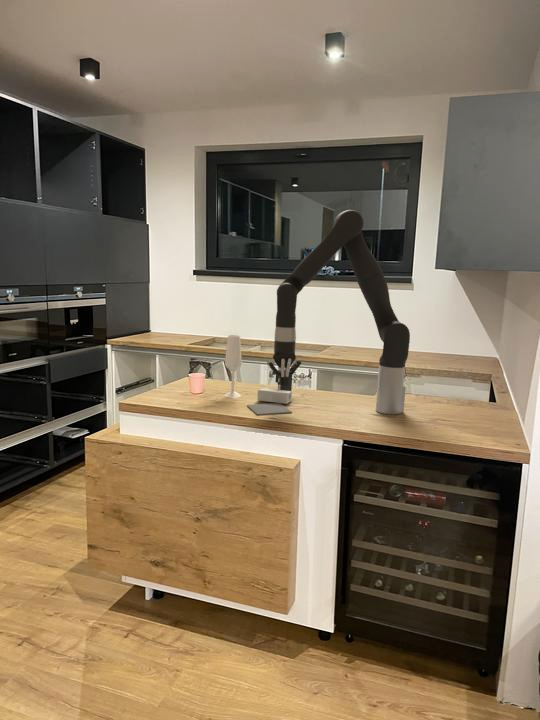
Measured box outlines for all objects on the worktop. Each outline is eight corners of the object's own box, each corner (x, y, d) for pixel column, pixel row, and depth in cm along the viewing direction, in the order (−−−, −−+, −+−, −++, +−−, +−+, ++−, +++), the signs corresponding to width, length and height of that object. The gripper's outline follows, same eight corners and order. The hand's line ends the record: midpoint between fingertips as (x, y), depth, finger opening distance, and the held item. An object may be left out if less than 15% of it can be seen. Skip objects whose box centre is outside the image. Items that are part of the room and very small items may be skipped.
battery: (284, 394, 212) (285, 366, 210) (292, 396, 209) (293, 368, 207) (273, 397, 207) (274, 369, 205) (280, 399, 204) (281, 370, 202)
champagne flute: (242, 394, 210) (243, 334, 206) (239, 398, 204) (241, 337, 199) (225, 393, 211) (227, 334, 206) (222, 397, 204) (223, 336, 200)
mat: (279, 404, 197) (279, 402, 197) (291, 413, 186) (291, 411, 186) (247, 406, 193) (247, 404, 193) (257, 415, 182) (257, 414, 182)
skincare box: (291, 402, 201) (262, 398, 205) (292, 391, 201) (262, 387, 205) (287, 404, 196) (256, 400, 199) (287, 393, 195) (257, 389, 199)
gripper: (298, 337, 192) (296, 383, 195) (264, 338, 188) (262, 385, 191) (306, 340, 185) (304, 388, 188) (271, 341, 181) (269, 389, 184)
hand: (283, 386), depth 190 cm, fingers closed
